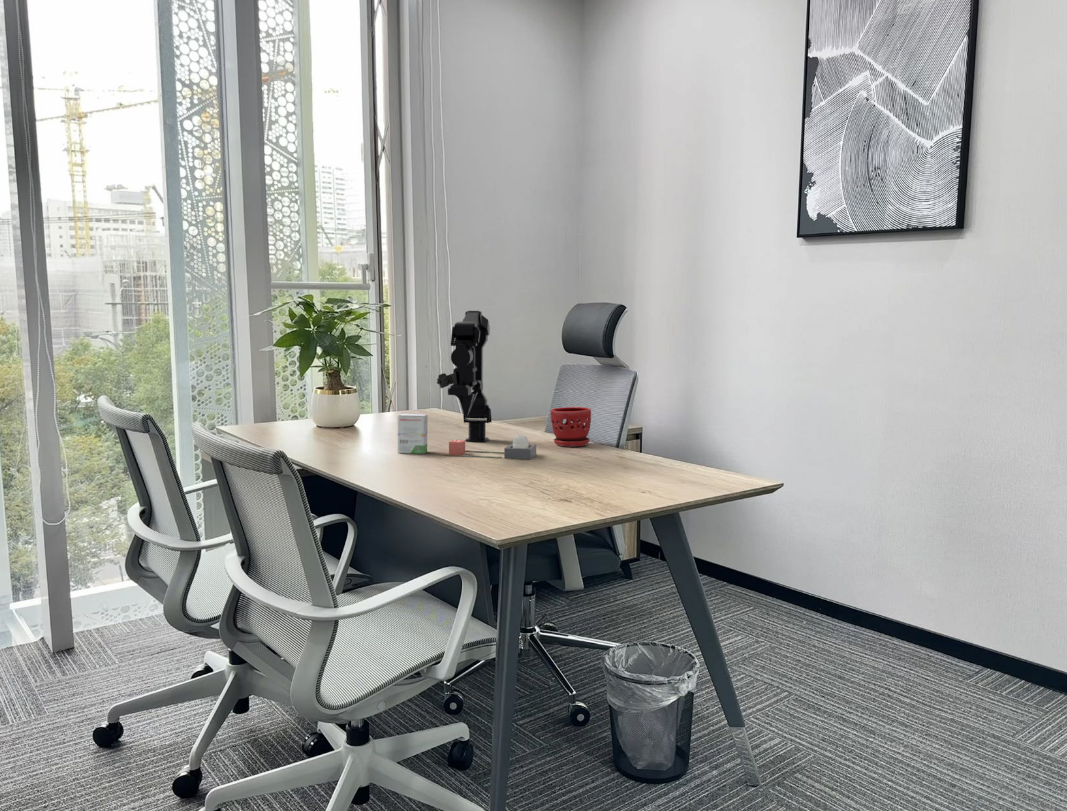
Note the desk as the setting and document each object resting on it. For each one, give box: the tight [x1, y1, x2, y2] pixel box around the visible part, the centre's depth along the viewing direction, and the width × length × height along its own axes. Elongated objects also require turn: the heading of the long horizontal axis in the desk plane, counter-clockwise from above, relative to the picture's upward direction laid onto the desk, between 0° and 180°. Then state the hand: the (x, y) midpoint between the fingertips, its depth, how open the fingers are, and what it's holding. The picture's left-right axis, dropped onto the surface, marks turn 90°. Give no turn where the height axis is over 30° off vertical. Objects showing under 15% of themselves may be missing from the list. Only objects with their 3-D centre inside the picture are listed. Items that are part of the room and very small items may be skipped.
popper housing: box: [503, 443, 537, 460], centre depth 260 cm, size 8×8×3 cm
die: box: [448, 438, 466, 455], centre depth 264 cm, size 4×4×4 cm
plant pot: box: [550, 406, 592, 448], centre depth 280 cm, size 13×13×12 cm
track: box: [443, 449, 504, 459], centre depth 263 cm, size 9×18×1 cm, turn 77°
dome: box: [512, 433, 530, 449], centre depth 260 cm, size 5×5×6 cm
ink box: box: [397, 413, 429, 455], centre depth 266 cm, size 9×5×12 cm, turn 84°
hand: (466, 415), depth 263 cm, fingers closed
